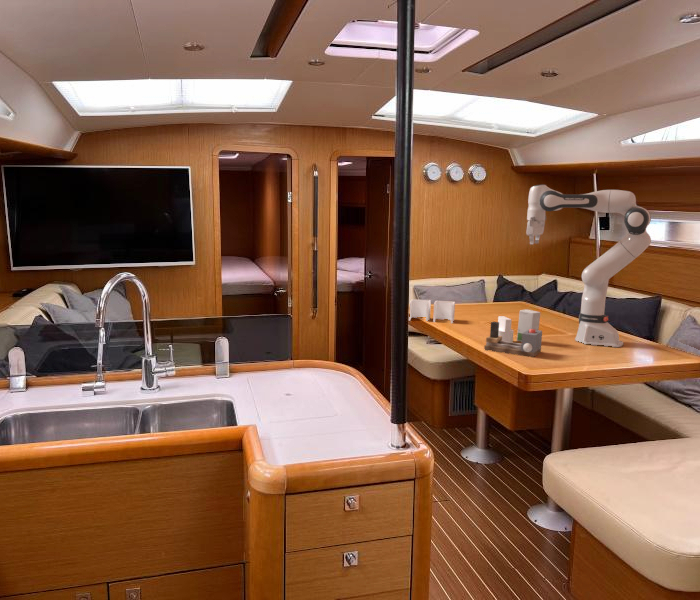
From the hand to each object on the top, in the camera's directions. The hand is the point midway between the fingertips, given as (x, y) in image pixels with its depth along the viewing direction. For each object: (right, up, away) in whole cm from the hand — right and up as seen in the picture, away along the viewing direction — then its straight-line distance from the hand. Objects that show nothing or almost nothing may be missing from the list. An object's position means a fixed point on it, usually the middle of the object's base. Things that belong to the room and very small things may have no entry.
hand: (534, 243), depth 321 cm
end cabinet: (-12, -53, -35) cm, 65 cm away
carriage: (-27, -48, -27) cm, 62 cm away
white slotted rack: (-48, -41, +40) cm, 74 cm away
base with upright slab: (-19, -50, -12) cm, 54 cm away
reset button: (-12, -45, -37) cm, 60 cm away
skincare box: (-7, -50, -11) cm, 51 cm away
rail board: (-19, -53, -31) cm, 64 cm away
